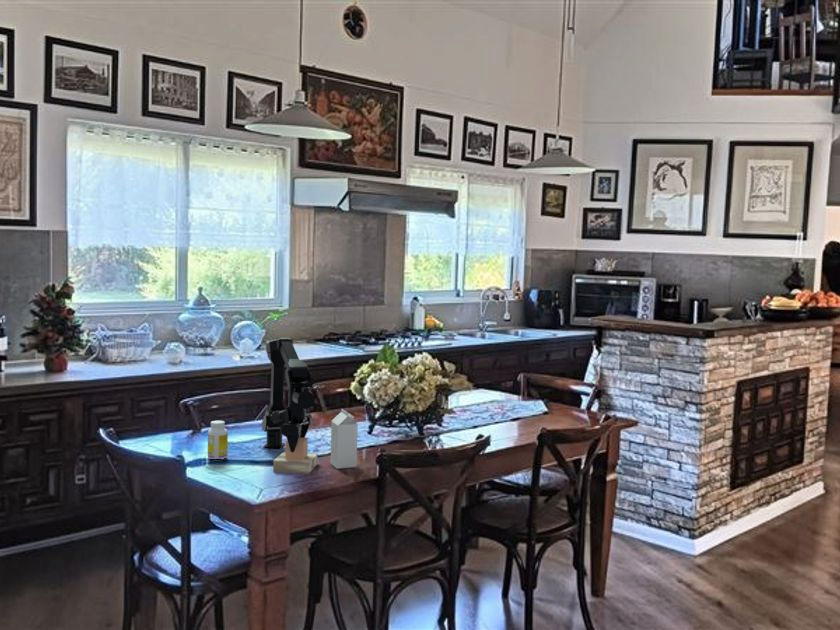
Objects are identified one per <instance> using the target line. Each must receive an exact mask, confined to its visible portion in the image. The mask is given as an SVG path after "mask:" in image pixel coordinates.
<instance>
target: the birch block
mask: <svg viewBox="0 0 840 630" xmlns="http://www.w3.org/2000/svg"><path fill="white" fill-rule="evenodd" d="M285 451H286V450H285ZM285 451H283V452H281V454H280V455H278V456H277V457H276V458H275V459H274V460H273V461H272V462H273V464H272V468H273V469H272V471H273V472H276V473H277V472H278V473H290V474H307V475H309V474H310V473H312V470H314V469H315V467H317V465H318V464H319V454H318V453H315V452H314V453H312V452H307V456H306V457H305V458H304V460H294V459H285Z"/></svg>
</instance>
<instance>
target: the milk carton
mask: <svg viewBox="0 0 840 630" xmlns="http://www.w3.org/2000/svg"><path fill="white" fill-rule="evenodd" d="M354 418H355V416H354V415H352V414H351V413H349V412H347V411H346V410H344V409H343V408H341V410H340V412H339V414H337V415H336V416H335V417H334V418H333V419H332V420H331V431H330V464H331V465H332V466H333V467H334V468H335V469H351V468H357V467H358V466H357V465H358V462H357V461H358V458H357V457H358V428H359V427H358V426H359V425H358V423H357V422H356V421H355V420H354Z"/></svg>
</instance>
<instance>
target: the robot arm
mask: <svg viewBox="0 0 840 630" xmlns="http://www.w3.org/2000/svg"><path fill="white" fill-rule="evenodd" d="M265 350H266V354H267V359H268V360H269V361H270V363H271V370H270V371H271V377H270V402H269V403H268V405H267V407H266V409H265V415H264V416H263V418H262V422H261V429H262V431H264V432H265V433H266V443H265V444H264V445H263V446H262V447H263V448H264V447H270V448H269V449H279V448H280V449H282V448H283V447H284V446H286V442H283V436H284V437H286V441H287V440H288V444H289V447H290V451H291V452H294V451H295V448H296V446H297V443H298V440H299V437H300V438H306V436H307V434H308V431H309V429H310V427H311V425H312V422H313V416H312V414H311V413H307V411H306V410H308V409H310V408H312V407H313V406H314V404H315V400H316V399H315V396H314V394H313V393H312V392H311V391H310V388H313V385H314V384H313V383H314V380H313V376H312V372H311V370H310V368H309V367H308V364H306V362H304V361H302V360H300V358H299V356H298V353H297V352H296V349H295V347H294V342H293V338H290V337H279V338H277V339H275V340H269V342H268V343H267V344H266V345H265ZM285 366H286V369H285ZM285 381H286V384H287V387H288V403H287V404H288V405H287V406H286V407H285V405H284V389H285Z"/></svg>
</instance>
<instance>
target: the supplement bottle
mask: <svg viewBox="0 0 840 630" xmlns="http://www.w3.org/2000/svg"><path fill="white" fill-rule="evenodd" d="M225 425H226V422H225V421H224V420H212V421H210V429H208V430H207V459H208V460H210V459H222V458H225V457H227V458H228V455H229V454H228V452H229V451H228V445H229V444H228V443H229V440H228V433H229V432H228V429H227V428H225Z"/></svg>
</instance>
